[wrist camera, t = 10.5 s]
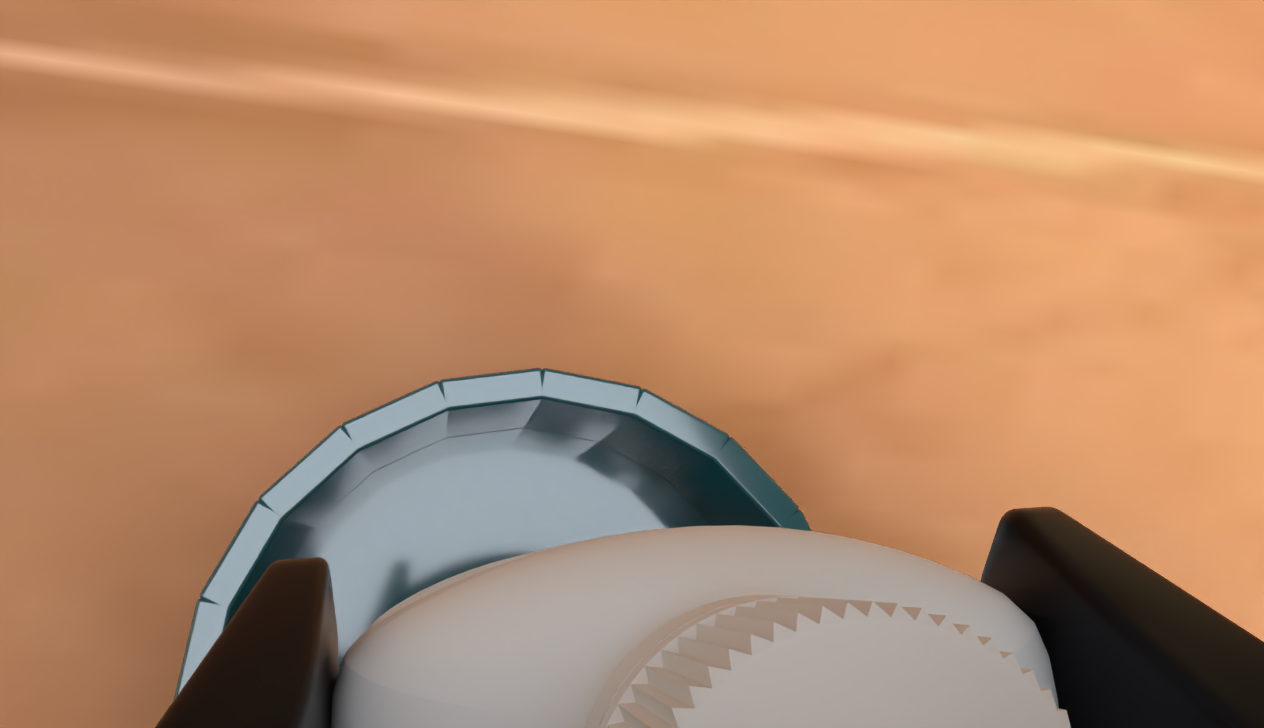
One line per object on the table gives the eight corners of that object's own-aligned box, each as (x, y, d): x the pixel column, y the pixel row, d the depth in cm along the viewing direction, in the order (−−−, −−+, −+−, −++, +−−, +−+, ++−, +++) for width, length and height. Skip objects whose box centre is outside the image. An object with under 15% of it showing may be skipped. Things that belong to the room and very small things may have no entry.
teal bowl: (861, 561, 23) (961, 561, 18) (628, 1071, 21) (680, 1209, 16) (409, 314, 22) (402, 254, 18) (116, 813, 20) (25, 883, 16)
